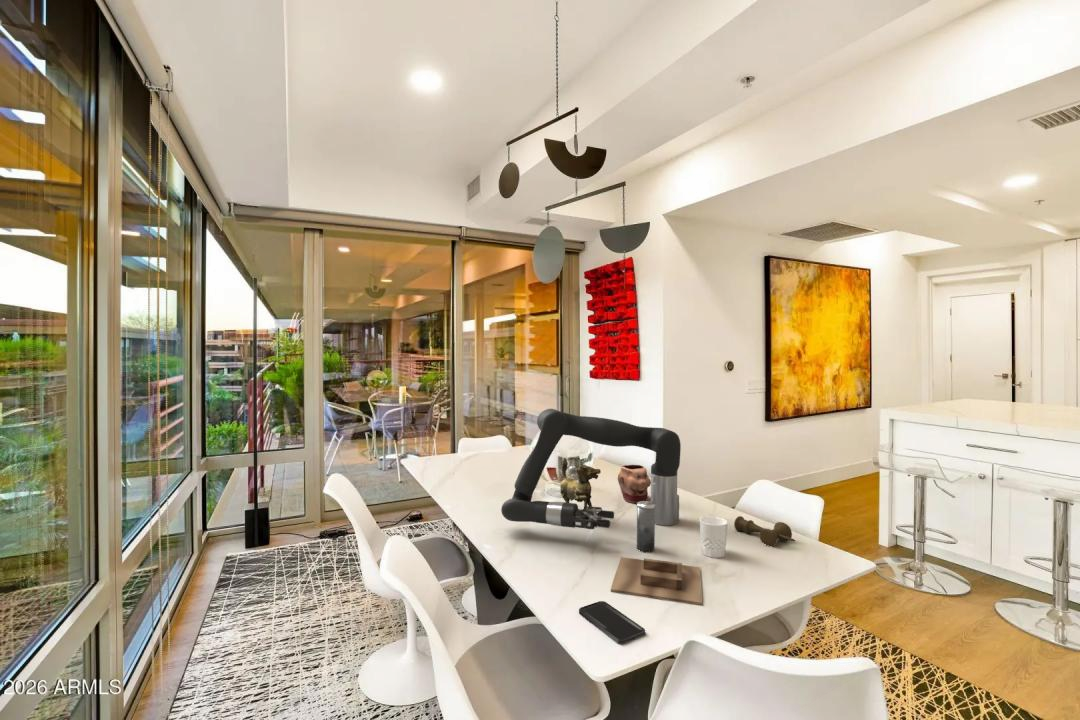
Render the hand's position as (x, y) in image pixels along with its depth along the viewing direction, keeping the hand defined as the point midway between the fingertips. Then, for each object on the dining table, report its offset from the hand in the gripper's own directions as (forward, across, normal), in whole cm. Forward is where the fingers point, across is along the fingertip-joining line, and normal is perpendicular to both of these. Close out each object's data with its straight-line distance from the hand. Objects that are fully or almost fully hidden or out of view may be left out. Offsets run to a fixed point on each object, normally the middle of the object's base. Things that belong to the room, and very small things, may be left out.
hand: (612, 519), depth 151 cm
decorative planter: (+1, +50, +8) cm, 51 cm away
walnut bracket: (+16, -20, +8) cm, 27 cm away
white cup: (+30, +3, +8) cm, 31 cm away
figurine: (-17, +24, +8) cm, 31 cm away
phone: (+6, -44, +9) cm, 45 cm away
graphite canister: (+10, 0, +8) cm, 13 cm away
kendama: (+47, +20, +9) cm, 52 cm away
